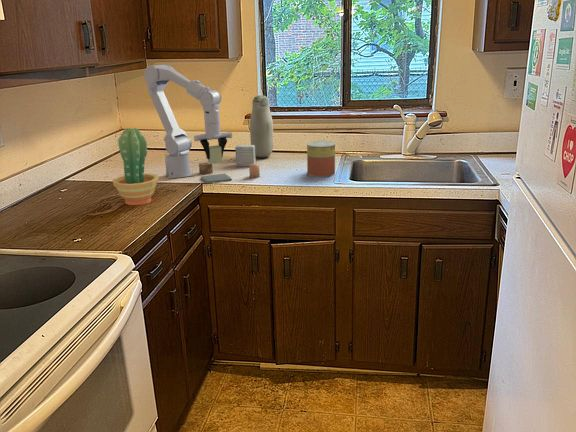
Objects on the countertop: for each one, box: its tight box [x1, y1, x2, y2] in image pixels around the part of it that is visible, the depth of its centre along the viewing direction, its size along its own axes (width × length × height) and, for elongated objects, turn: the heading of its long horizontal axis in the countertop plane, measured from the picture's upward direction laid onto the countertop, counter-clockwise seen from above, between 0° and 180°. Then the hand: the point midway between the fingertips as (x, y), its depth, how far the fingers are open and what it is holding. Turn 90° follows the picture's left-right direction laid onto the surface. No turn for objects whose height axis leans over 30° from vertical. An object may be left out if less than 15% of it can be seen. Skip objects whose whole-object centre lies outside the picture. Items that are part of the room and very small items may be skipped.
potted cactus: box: [112, 127, 159, 206], centre depth 179 cm, size 15×15×25 cm
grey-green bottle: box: [249, 94, 274, 159], centre depth 240 cm, size 10×10×28 cm
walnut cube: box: [198, 161, 214, 176], centre depth 218 cm, size 4×4×4 cm
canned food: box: [306, 140, 336, 178], centre depth 213 cm, size 11×11×12 cm
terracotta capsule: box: [248, 163, 261, 179], centre depth 211 cm, size 4×4×5 cm
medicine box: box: [234, 144, 257, 168], centre depth 229 cm, size 8×4×9 cm, turn 84°
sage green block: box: [207, 144, 223, 165], centre depth 205 cm, size 4×4×6 cm
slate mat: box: [200, 173, 232, 185], centre depth 209 cm, size 10×9×1 cm
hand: (214, 157), depth 206 cm, fingers closed on sage green block, 4 cm apart
